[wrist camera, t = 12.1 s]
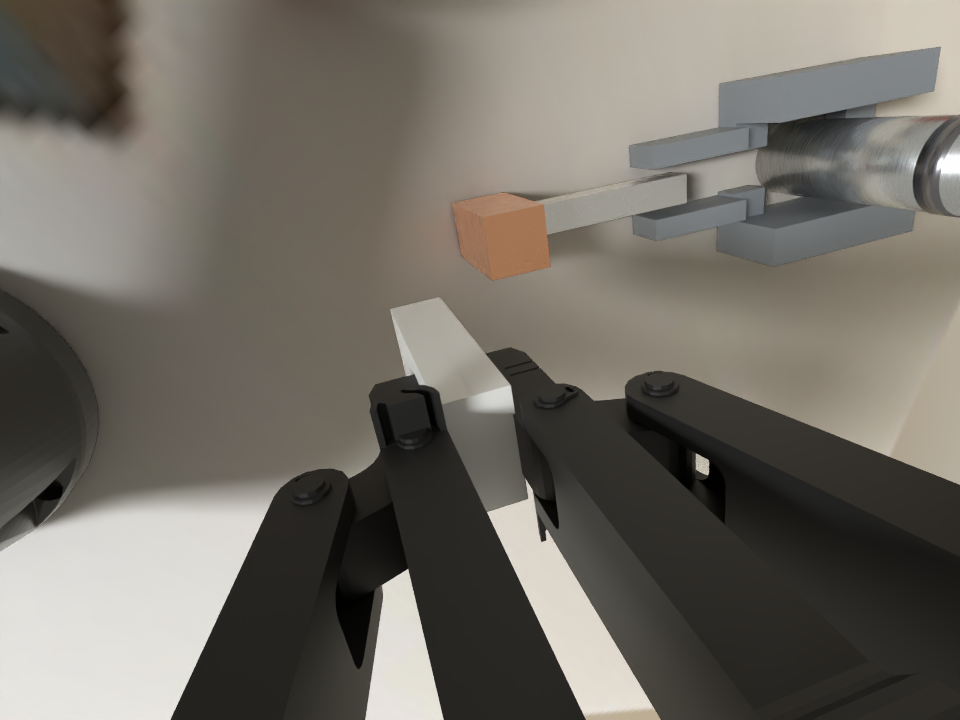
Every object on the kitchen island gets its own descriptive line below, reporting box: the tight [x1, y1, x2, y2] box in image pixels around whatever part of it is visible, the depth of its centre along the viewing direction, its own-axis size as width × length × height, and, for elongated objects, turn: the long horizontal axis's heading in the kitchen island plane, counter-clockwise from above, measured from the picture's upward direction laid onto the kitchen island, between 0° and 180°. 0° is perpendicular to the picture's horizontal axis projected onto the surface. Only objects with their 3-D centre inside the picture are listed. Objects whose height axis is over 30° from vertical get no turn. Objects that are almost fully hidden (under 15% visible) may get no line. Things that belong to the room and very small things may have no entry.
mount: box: [629, 47, 941, 267], centre depth 33 cm, size 16×10×5 cm, turn 99°
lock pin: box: [452, 172, 687, 281], centre depth 30 cm, size 13×3×6 cm, turn 99°
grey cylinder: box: [756, 115, 960, 217], centre depth 30 cm, size 4×4×13 cm
